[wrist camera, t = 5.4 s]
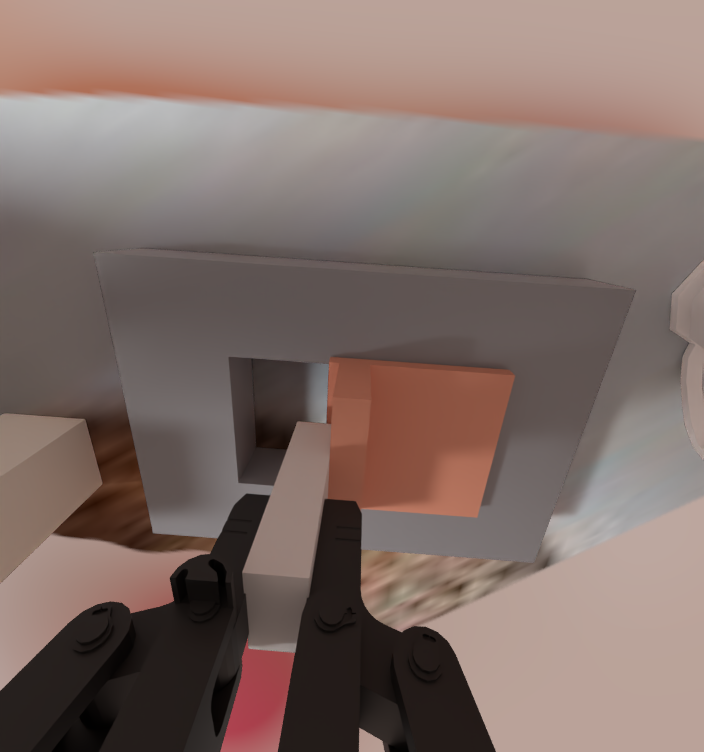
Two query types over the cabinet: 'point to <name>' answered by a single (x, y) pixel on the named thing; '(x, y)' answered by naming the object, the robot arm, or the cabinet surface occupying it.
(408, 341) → the socket
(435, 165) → the cabinet surface
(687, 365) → the cup
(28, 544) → the plug
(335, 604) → the robot arm
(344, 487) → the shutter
